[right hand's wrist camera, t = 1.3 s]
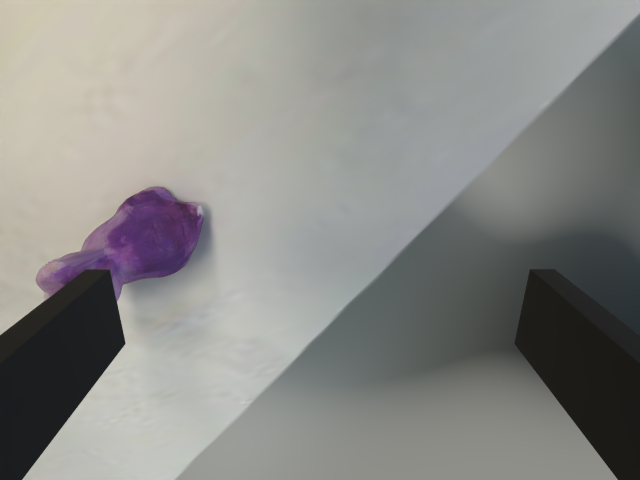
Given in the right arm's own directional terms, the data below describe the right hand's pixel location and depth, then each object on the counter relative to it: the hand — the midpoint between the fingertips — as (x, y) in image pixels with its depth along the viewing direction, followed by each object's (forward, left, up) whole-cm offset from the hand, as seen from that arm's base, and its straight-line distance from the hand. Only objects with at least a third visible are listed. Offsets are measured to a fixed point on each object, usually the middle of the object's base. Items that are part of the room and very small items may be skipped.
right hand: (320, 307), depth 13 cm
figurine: (+8, -16, -27) cm, 33 cm away
